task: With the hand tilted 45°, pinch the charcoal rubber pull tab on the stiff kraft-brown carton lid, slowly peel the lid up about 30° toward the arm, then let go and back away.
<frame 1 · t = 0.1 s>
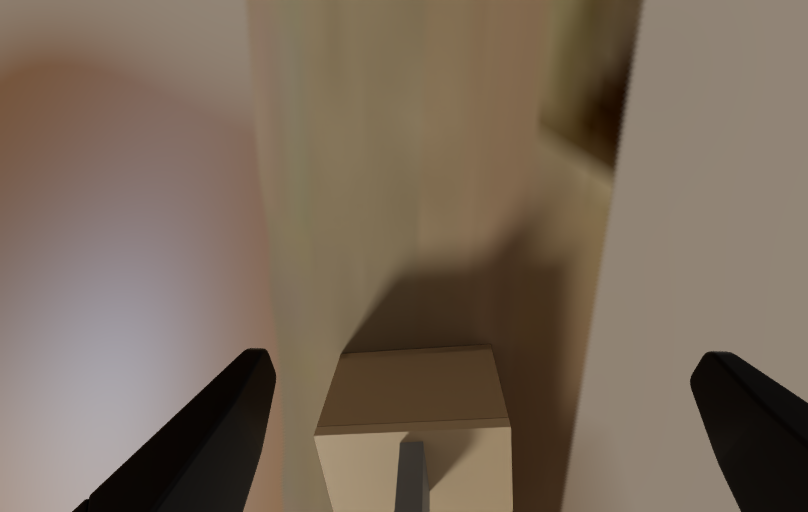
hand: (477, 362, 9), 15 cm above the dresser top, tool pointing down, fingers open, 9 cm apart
carton: (424, 429, 30), on the dresser top
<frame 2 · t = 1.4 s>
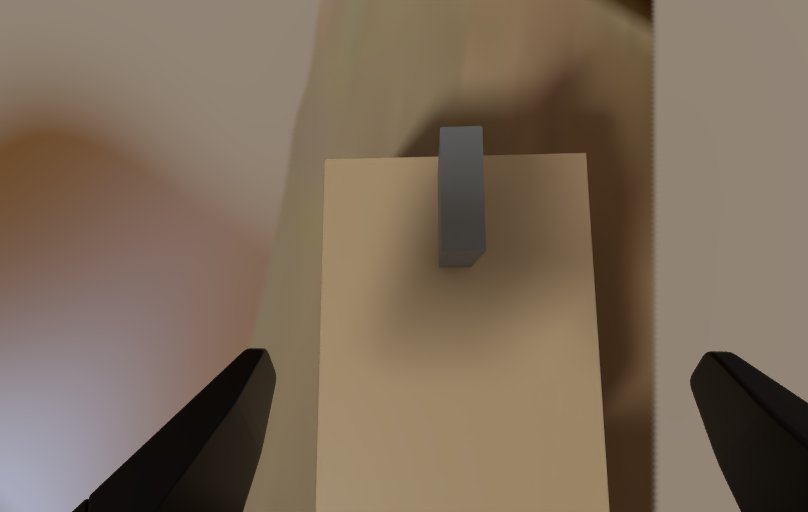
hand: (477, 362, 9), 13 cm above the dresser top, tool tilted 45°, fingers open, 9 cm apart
carton lid: (459, 345, 13), point 9 cm above the dresser top, hinge at 0.0°
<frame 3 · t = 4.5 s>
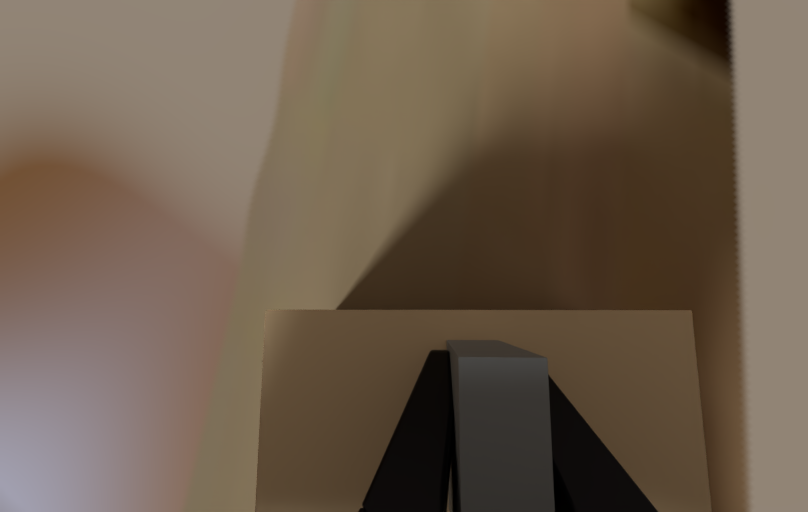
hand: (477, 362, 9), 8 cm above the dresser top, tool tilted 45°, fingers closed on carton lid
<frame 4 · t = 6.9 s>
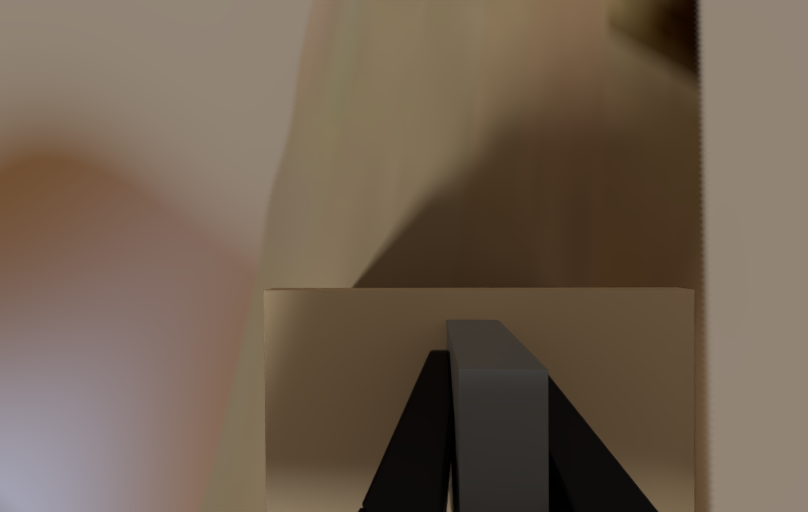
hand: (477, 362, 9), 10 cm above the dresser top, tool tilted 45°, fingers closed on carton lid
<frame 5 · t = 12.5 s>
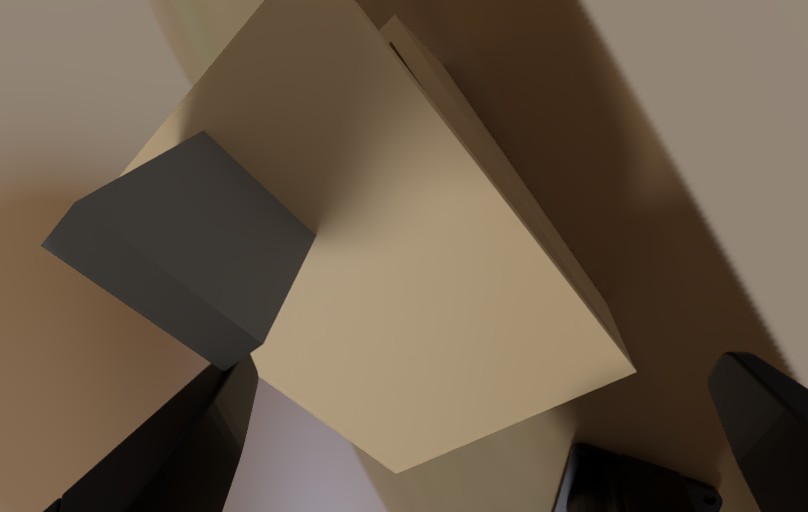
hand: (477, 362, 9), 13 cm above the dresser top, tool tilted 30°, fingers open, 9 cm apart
carton: (440, 237, 21), on the dresser top
carton lid: (360, 351, 11), point 12 cm above the dresser top, hinge at 26.3°, touching gripper
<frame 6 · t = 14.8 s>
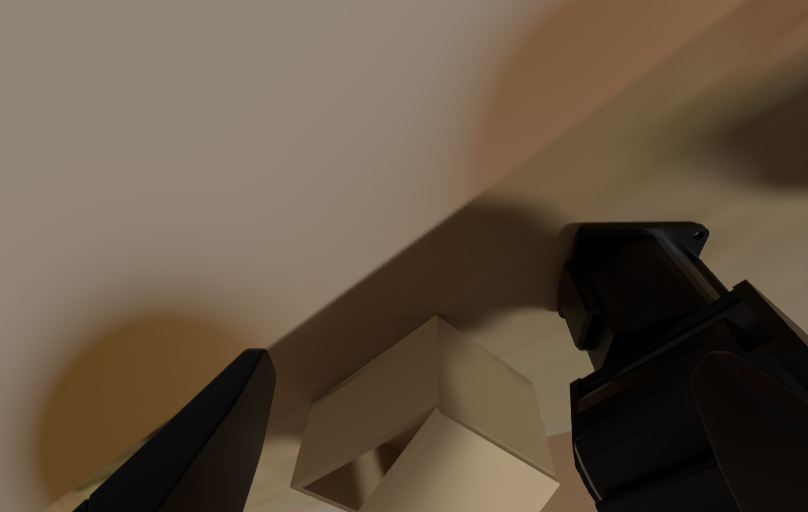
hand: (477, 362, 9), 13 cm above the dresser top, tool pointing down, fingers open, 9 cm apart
carton: (417, 394, 31), on the dresser top
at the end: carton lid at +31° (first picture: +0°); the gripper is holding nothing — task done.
